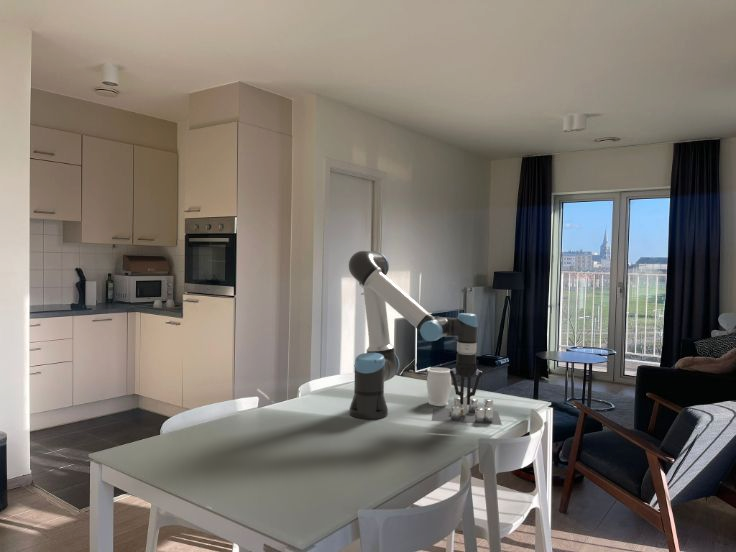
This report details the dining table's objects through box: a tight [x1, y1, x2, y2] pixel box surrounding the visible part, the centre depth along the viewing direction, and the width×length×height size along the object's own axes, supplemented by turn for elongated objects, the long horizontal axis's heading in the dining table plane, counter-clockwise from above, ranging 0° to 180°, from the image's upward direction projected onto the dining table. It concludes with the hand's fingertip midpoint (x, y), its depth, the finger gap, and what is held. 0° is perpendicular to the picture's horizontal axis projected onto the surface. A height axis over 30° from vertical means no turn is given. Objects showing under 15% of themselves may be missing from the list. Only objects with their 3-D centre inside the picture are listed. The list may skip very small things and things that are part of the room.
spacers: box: [450, 396, 494, 424], centre depth 223 cm, size 17×19×5 cm
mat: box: [431, 406, 503, 426], centre depth 224 cm, size 26×19×1 cm
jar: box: [426, 367, 452, 407], centre depth 242 cm, size 11×10×15 cm
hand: (464, 412), depth 224 cm, fingers closed
